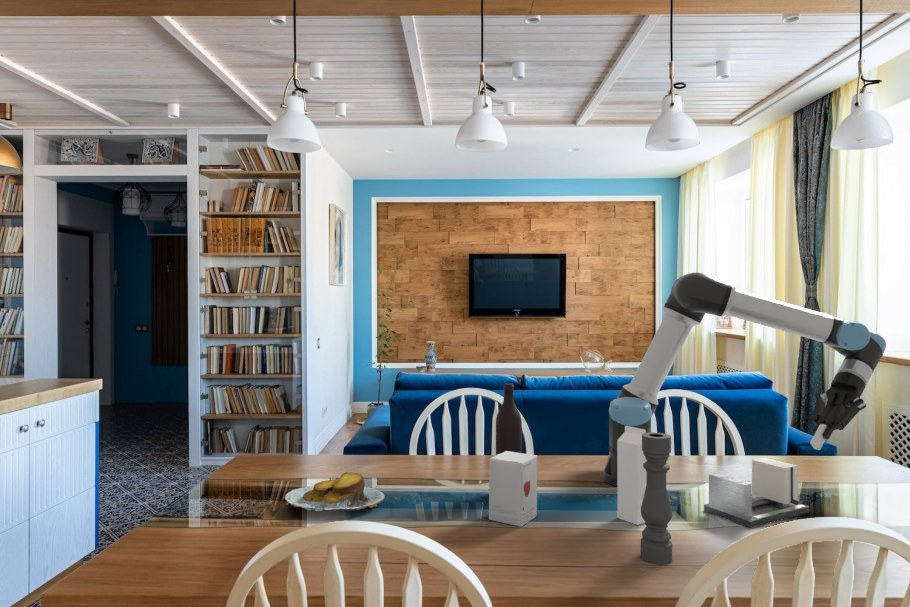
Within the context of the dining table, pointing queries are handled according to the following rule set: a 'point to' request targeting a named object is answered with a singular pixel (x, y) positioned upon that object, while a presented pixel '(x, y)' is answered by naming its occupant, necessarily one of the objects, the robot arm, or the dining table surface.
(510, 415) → the wine bottle
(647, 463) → the candle holder
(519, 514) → the supplement box
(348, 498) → the food on plate
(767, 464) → the block
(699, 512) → the dining table surface
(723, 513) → the frame
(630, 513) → the milk
